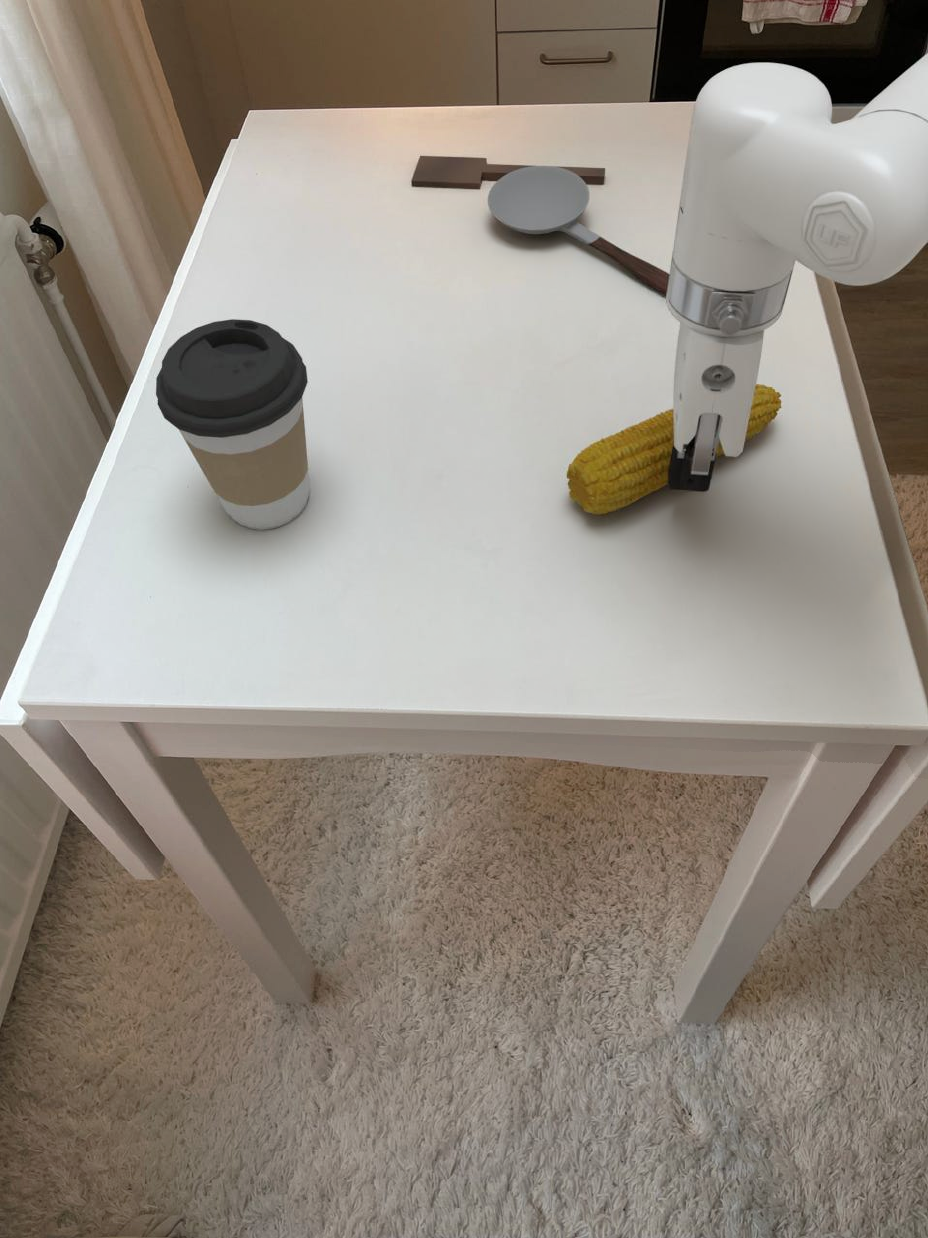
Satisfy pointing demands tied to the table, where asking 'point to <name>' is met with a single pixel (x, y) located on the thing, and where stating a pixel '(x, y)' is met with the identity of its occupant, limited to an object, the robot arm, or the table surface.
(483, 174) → the spatula
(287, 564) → the table surface
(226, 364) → the coffee cup
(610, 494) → the food
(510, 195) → the spoon
